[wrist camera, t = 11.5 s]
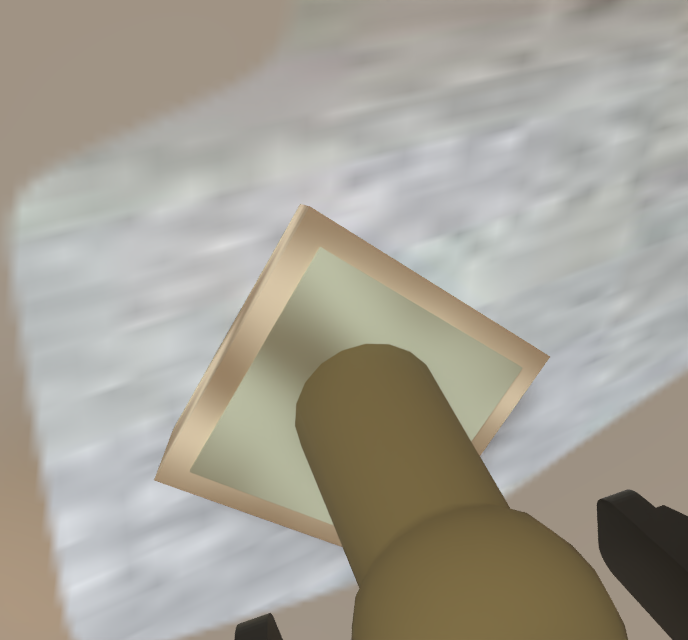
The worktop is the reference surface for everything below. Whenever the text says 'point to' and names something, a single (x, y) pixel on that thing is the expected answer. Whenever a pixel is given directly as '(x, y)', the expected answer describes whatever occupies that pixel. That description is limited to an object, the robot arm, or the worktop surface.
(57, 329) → the worktop surface
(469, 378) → the tray
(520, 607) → the olive brown ball-ended cylinder
